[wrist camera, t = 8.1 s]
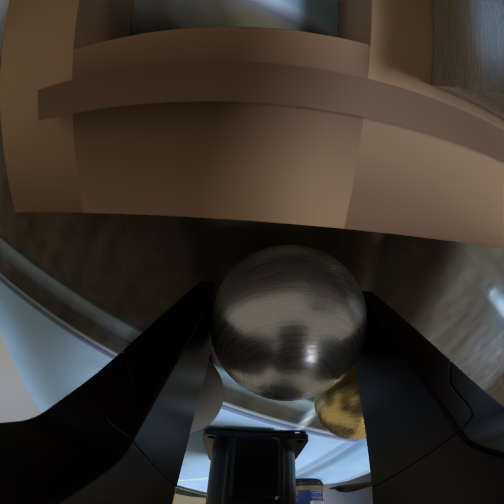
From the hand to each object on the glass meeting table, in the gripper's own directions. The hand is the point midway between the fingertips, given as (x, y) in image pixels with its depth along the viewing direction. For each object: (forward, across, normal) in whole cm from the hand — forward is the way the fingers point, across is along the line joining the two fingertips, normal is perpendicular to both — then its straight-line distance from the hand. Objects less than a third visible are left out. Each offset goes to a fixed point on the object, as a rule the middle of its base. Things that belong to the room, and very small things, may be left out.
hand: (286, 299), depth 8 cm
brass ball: (-1, -4, +4) cm, 6 cm away
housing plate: (+1, 0, -9) cm, 9 cm away
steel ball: (-1, 0, 0) cm, 1 cm away
